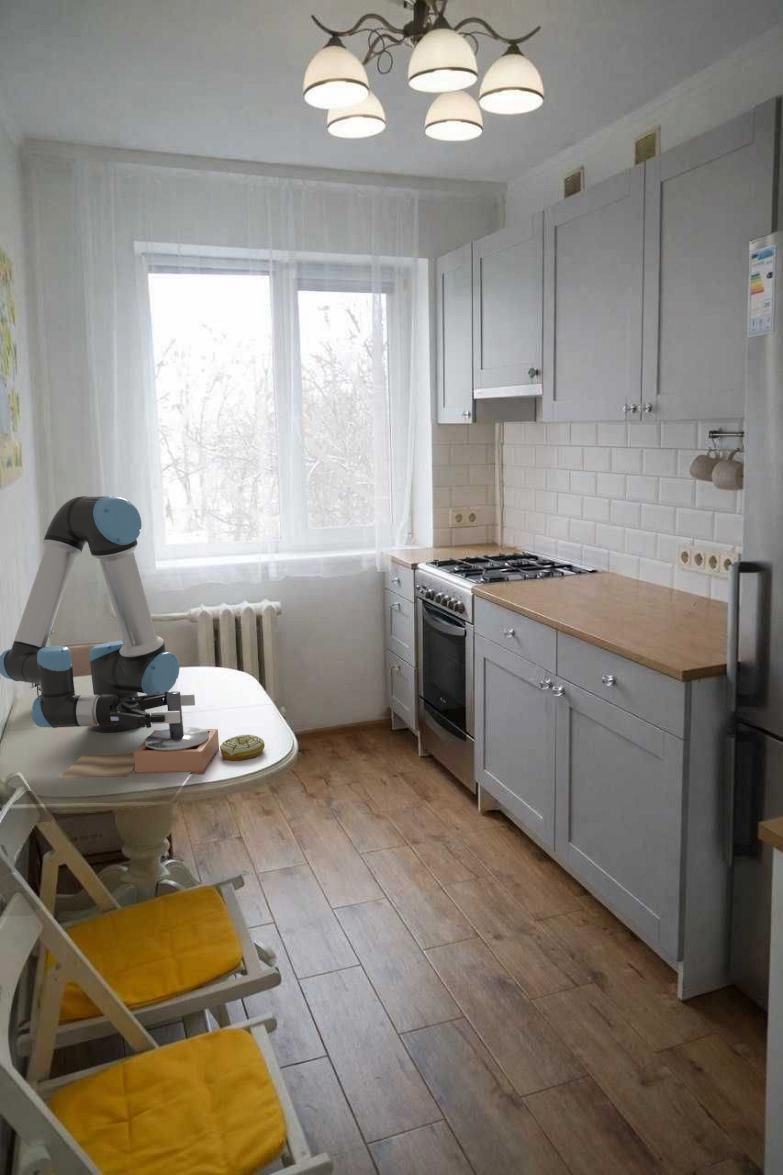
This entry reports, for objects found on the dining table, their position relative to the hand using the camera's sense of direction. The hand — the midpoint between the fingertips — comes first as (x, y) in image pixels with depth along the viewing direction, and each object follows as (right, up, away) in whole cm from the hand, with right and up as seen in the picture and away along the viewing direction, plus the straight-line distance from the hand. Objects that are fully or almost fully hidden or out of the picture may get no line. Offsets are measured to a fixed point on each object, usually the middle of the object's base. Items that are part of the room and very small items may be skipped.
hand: (187, 708), depth 213 cm
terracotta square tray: (-3, -13, +2) cm, 14 cm away
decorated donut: (+12, -13, +7) cm, 19 cm away
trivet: (-20, -14, +1) cm, 25 cm away
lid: (-3, -8, +1) cm, 9 cm away
